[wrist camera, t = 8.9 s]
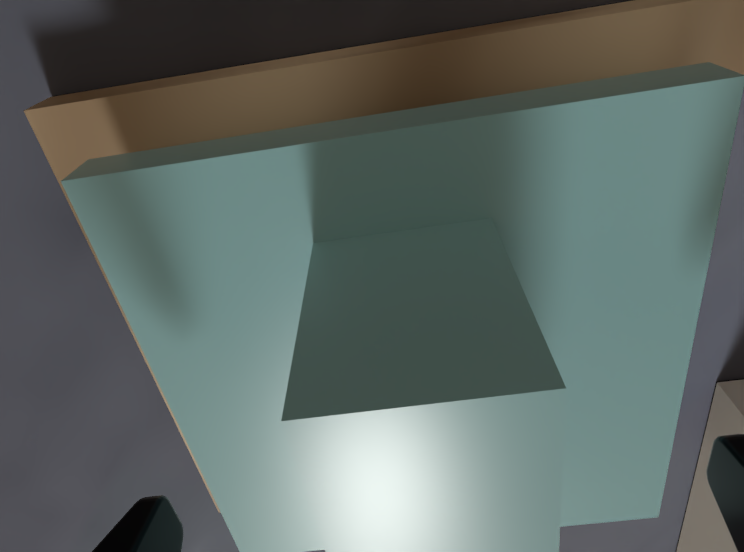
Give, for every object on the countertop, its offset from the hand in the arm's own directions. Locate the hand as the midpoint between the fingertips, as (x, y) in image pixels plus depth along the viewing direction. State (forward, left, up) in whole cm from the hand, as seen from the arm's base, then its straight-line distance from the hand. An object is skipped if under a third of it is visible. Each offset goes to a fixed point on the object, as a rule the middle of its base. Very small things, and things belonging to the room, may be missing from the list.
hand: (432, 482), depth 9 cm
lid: (0, 0, -4) cm, 4 cm away
